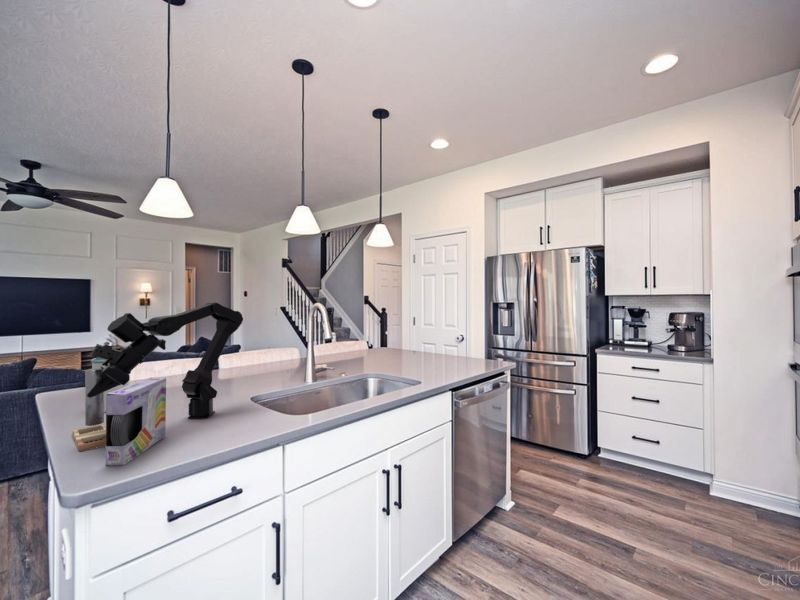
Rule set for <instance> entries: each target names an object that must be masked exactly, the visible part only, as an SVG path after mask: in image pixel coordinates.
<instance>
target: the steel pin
mask: <svg viewBox="0 0 800 600" xmlns="http://www.w3.org/2000/svg"><path fill="white" fill-rule="evenodd" d="M101 370H102V371H103V370H104V369H103V368H97V369H92V368H91V369H86V370H85V371H84V372H85V373H84V374H85V375H84V376H85V377H84V380H85V381H84V382H85V383H84V385H85V389H84V390H85V391H84V392H85V393H84V398H85V399H84V401H85V403H84V406H85V408H84V409H85V410H84V411H85V413H84V414H85V417H84V418H85V422H84V423H85V427H90V426H95V425H100V424H105V412H104V392H102V393H100V394H98V395H96V396H93V397H91V398H89V397H87V394H88V393H89V392H90V391H91V389H92V388H93V387H94V386H95V384H96V383H97V382H98V381H99V380H100V378H101Z"/></svg>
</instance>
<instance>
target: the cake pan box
mask: <svg viewBox="0 0 800 600" xmlns="http://www.w3.org/2000/svg"><path fill="white" fill-rule="evenodd" d="M166 400H167V377H157V376H156V377H149V378H146V379H144V380H140V381H139V382H134V383H130V384H128V386H126V387H124V388H121V389H119V390H116V391H113V392H110V393H107V395H106V412H105V425H106V446H104V447H105V465H115V466H125V465H126V464H128V463H129V462H131V461H132V460H134V459H135V458H137V456H139V455H141V454H142V453H144V452H145V451H146V450H148V449H149V448H151V447H152V446H153V445H154V444H157V443H158V442H159V441H161V440H162V439H163V438H165V437H166V415H167V414H166V411H167V410H166V407H167V406H166V405H167V403H166V402H167V401H166ZM130 460H131V461H130ZM127 462H128V463H127ZM124 464H125V465H124Z"/></svg>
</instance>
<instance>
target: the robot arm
mask: <svg viewBox="0 0 800 600" xmlns="http://www.w3.org/2000/svg"><path fill="white" fill-rule="evenodd" d="M207 317H212V318H213V319H214V320H216V322H215V326H216V331H215V333H214V335H213V337H212V339H210V340H211V341H210V343H209V344H208V346H207V348H206V350H205V352H204V353H203V356H202V358H201V360H200V362H199V363H198V366H197V367H196V368H195V369H194V370H190V369H188V371H187V372H186V374H185V377H184V378H183V379H182V380H181V382H182V386H181V388H182V392H184V394H185V395H186V397H187V399H189V403H188V416H187V419H189V420H190V419H208V418H209V417H211V416H213V415H214V414H215V413H216V411H215V410H214V399H215V398H217V394H218V391H217V390H216V389H215V388H214V387H213V386H211V385H212V383H213V371H214V369H215V366H216V365H217V362H218V360H219V359H220V357H221V356H222V355H221V354H222V353H223V351H224V349H225V346H226V344H227V343H228V341H229V339H230V336H231V335H232V334H233V333H235V332H236V331H237V330H238V329H239V328H240V326H241V325H242V323H243V322H244V317H243V314H242V313H241V311H238V310H234V309H232V308H229V307H226V306H223V305H222V304H220V303H218V302H207V303H205V304H203V305H200V306H197V307H194V308H192V309H189V310H185V311H182V312H179V313H175V314H171V315H162V316H155V317H152V318H150V319H149V320H147V321H146V322H141V321H140V320H138V319H137V318H136V317H135V316H134V315H133V314H132V313H129V312H128V313H127V312H125V313H124V314H123V315H122V316H119V317H117V319H115V320H112V321H111V323H109V324H108V327H107V329H106V330H107V331H108V332H109V333H111V334H112V335H114V336H115V337H117V338H118V339H119V340H121V341H122V342H123V343H129V342H130V343H129V344H128V345H127V346H126V347H122V348H121V349H120V350H119V349H116V348H113V346H112V345H109V344H104V345H102V344H100V343H96V345H95V346H94V348H93V349H94V350H91V351H92V352H91V353H90V356H91V357H93V358H96V357H100V358H103V359H106V360H105V361H104V362H103V363H102V365H103V366H104V365H105V366H106V367H104V368H103V367H100V368H103V369H104V370H103V371H102V370H101V378H100V380H99V381H98V382H97V383H96V384H95V386H94V387H93V388H92V389H91V391H90V392H89V393H88V394H87V397H89V398H91V397H93V396H96V395H98V394H100V393H102V392H105V391H107V390H109V389H112V388H114V387H116V386H119V385H121V384H122V385H123V386H124V385H125V384H126V383H127V382H128V383H129V382H130V374H131V373H132V371H133V370H134V369H135V368H137V366H138V365H141V364H142V363H143V362H144V360H145V359H146V358H147V357H148V356H150V354H152V353H153V352H154V351H155V350H156V349H157V348H158V347H159V349H162V351H163V350H166V343H167V341H166V339H164V338H162V339H160V338H158V337H157V336H161V337H169V336H172V335H173V334H174V333H177V332H179V331H180V330H181V329H182V328H183V327H184V326H187V325H189V324H192V323H194V322H196V321H199V320H203V319H205V318H207ZM145 332H147V333H149V334H147V333H145Z"/></svg>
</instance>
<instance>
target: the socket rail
mask: <svg viewBox="0 0 800 600" xmlns="http://www.w3.org/2000/svg"><path fill="white" fill-rule="evenodd" d="M98 430H99V431H98ZM93 431H94V432H93ZM72 437H73V440H74V442H75V445H76V447H77V451H78V450H79V451H81V452H84V451H83V450H85V451H88V450H87V449H89V450H92V449H91V448H94V449H97V448H96V447H98V448H101V446H103V447H105V446H106V423H102V424H98V425H93V426H85V427H80V428H75V429H72ZM100 439H102V440H100ZM95 440H97V441H95ZM90 441H92V442H90ZM86 442H88V443H86ZM79 451H78V452H79Z"/></svg>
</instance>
